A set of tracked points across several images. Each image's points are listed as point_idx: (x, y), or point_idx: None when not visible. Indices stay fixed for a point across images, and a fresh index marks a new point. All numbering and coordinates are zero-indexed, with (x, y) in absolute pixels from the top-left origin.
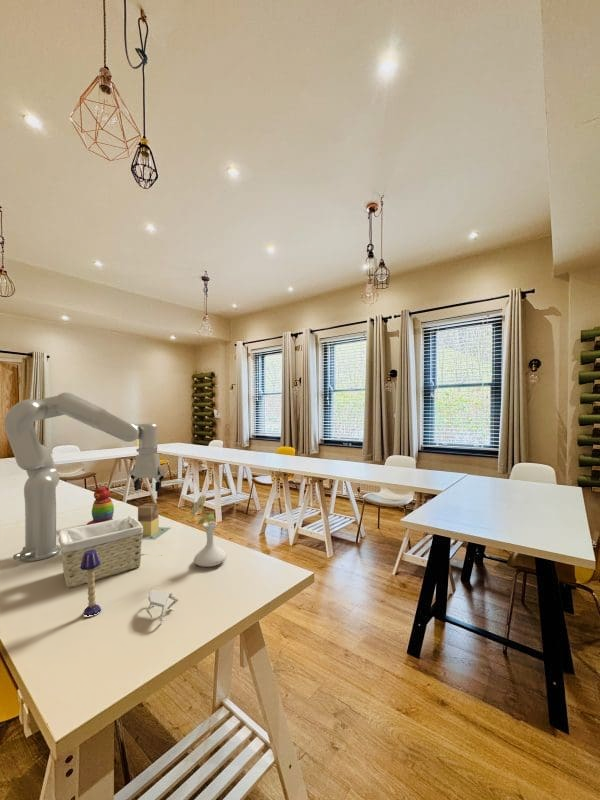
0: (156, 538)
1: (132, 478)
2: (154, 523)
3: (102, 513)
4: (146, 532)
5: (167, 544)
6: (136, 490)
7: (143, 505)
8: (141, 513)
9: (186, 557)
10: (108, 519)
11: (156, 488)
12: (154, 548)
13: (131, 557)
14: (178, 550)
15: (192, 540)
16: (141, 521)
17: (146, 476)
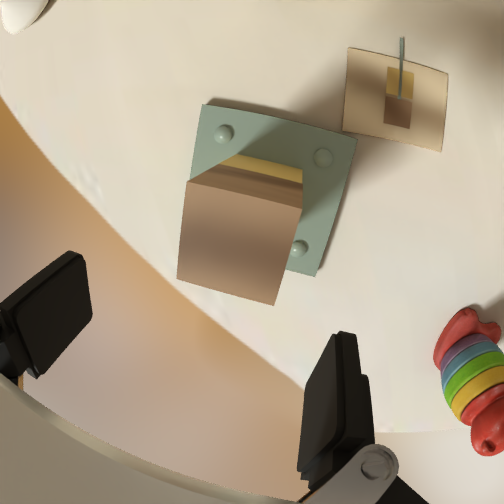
0: (200, 117)
1: (407, 493)
2: None
3: (480, 353)
4: (257, 161)
5: (148, 80)
6: (333, 334)
7: (272, 255)
8: (274, 188)
9: (78, 4)
10: (452, 347)
11: (53, 264)
12: (185, 43)
13: None
14: (103, 38)
15: (81, 121)
16: (279, 177)
17: (16, 425)
